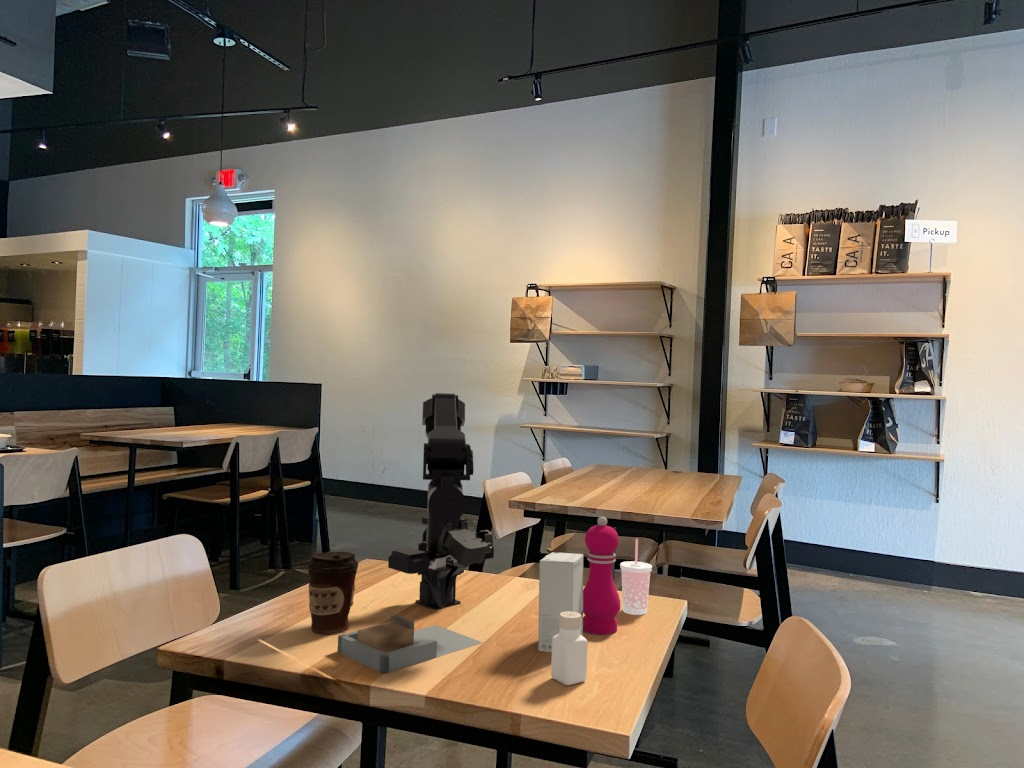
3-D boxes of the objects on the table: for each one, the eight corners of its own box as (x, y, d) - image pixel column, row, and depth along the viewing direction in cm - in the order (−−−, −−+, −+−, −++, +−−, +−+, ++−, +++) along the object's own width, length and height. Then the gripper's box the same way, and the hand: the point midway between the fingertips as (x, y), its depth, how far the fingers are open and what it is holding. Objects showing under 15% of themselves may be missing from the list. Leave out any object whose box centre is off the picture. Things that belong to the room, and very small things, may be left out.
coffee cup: (342, 641, 119) (344, 562, 119) (295, 636, 120) (298, 558, 121) (363, 625, 127) (365, 551, 128) (319, 621, 129) (322, 547, 129)
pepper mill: (623, 625, 131) (626, 515, 132) (615, 638, 125) (618, 521, 125) (584, 620, 134) (587, 512, 134) (574, 632, 127) (577, 517, 127)
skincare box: (572, 657, 115) (575, 563, 115) (535, 652, 117) (538, 559, 117) (583, 640, 123) (585, 552, 123) (548, 636, 125) (551, 549, 125)
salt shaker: (588, 681, 105) (589, 616, 105) (566, 687, 103) (568, 620, 103) (570, 672, 108) (572, 608, 109) (549, 678, 106) (551, 612, 106)
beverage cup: (644, 618, 136) (646, 543, 137) (614, 612, 139) (616, 539, 140) (655, 610, 142) (657, 538, 142) (625, 604, 145) (627, 534, 145)
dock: (435, 626, 128) (436, 610, 128) (483, 644, 120) (483, 627, 120) (337, 653, 113) (338, 635, 113) (383, 675, 105) (384, 656, 105)
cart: (393, 645, 117) (394, 614, 117) (413, 654, 113) (414, 622, 113) (356, 655, 112) (357, 623, 112) (376, 665, 108) (377, 631, 108)
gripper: (432, 525, 109) (429, 630, 108) (518, 513, 122) (515, 606, 122) (387, 515, 116) (384, 613, 116) (472, 504, 130) (470, 592, 129)
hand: (441, 606), depth 121 cm, fingers closed
